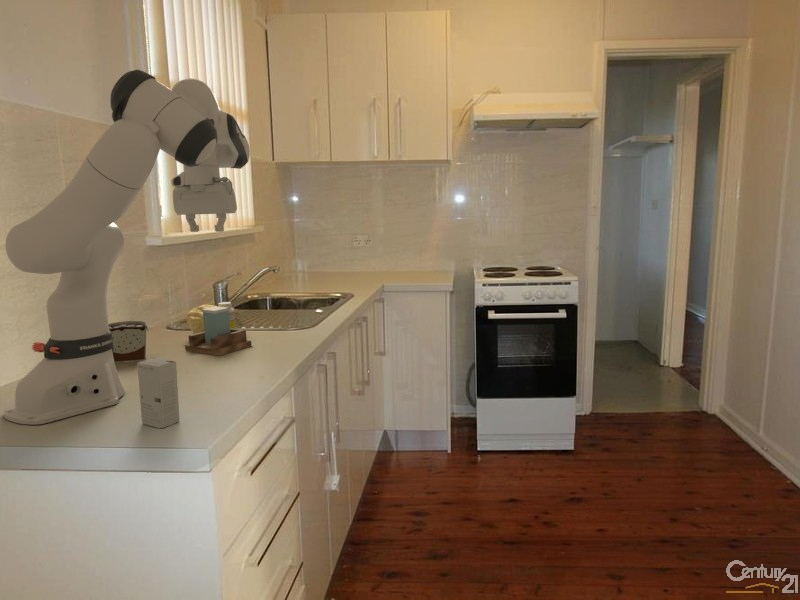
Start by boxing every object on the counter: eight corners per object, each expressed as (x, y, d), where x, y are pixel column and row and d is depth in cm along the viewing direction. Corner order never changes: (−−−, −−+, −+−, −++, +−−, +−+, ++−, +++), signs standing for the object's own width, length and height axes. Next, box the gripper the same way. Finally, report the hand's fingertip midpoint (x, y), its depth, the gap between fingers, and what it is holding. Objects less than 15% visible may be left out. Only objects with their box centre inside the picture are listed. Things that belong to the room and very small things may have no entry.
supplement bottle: (214, 334, 184) (211, 303, 182) (229, 331, 188) (227, 300, 186) (224, 337, 180) (222, 305, 179) (239, 333, 185) (237, 302, 183)
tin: (217, 345, 163) (214, 310, 161) (205, 344, 165) (202, 309, 164) (231, 341, 167) (228, 307, 165) (219, 340, 170) (216, 306, 168)
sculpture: (182, 340, 177) (179, 305, 175) (215, 332, 187) (213, 299, 185) (204, 344, 170) (201, 309, 169) (237, 336, 180) (235, 302, 178)
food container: (155, 353, 162) (151, 319, 160) (151, 359, 156) (147, 323, 154) (107, 357, 159) (103, 322, 157) (101, 363, 153) (97, 327, 151)
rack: (219, 355, 158) (218, 339, 157) (185, 350, 165) (184, 334, 164) (251, 345, 168) (250, 330, 167) (217, 341, 175) (216, 326, 174)
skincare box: (140, 424, 109) (134, 362, 107) (160, 416, 113) (154, 356, 111) (163, 429, 106) (156, 366, 104) (182, 421, 110) (176, 360, 108)
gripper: (240, 176, 148) (244, 230, 150) (186, 180, 158) (190, 231, 160) (221, 176, 142) (226, 232, 145) (166, 180, 153) (171, 232, 155)
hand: (207, 231), depth 153 cm, fingers open, 8 cm apart
